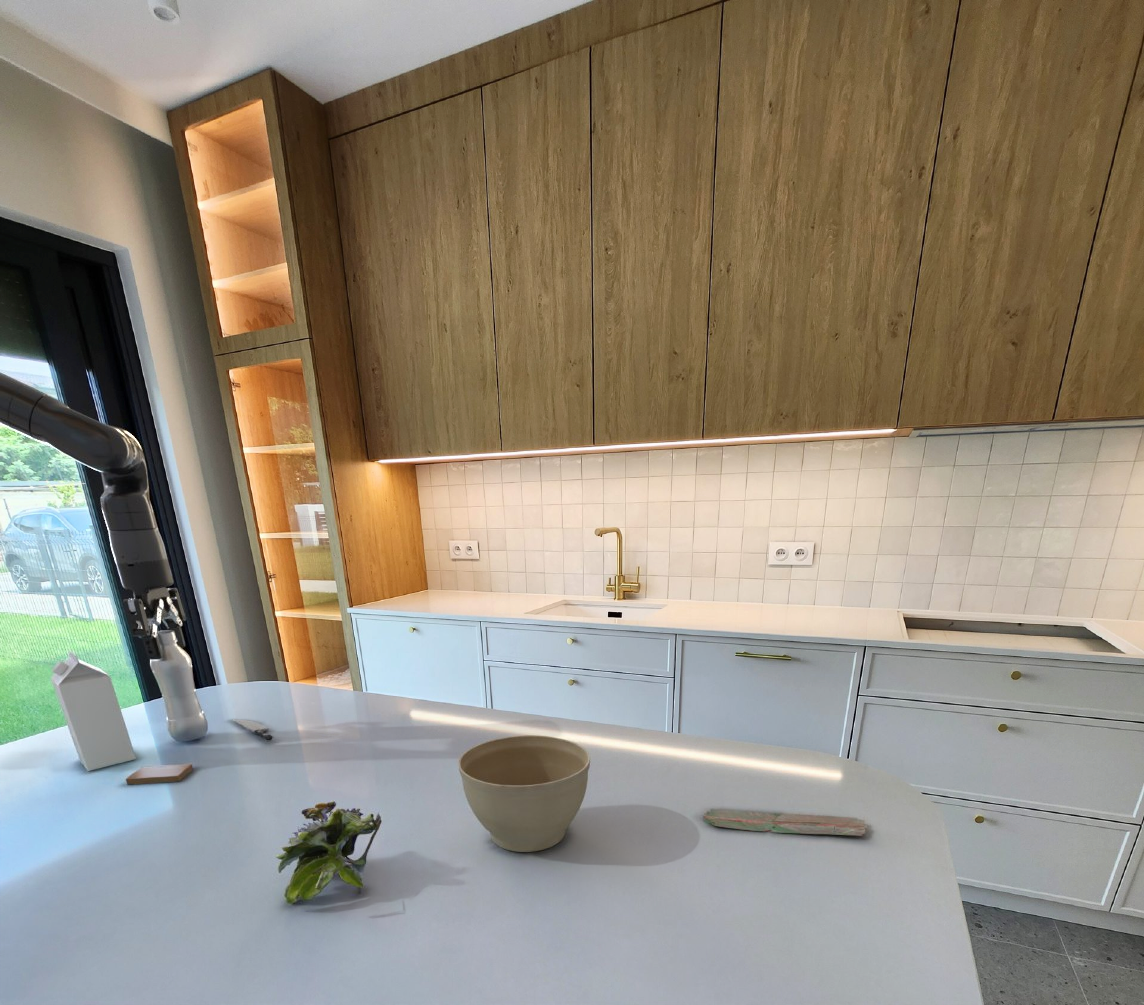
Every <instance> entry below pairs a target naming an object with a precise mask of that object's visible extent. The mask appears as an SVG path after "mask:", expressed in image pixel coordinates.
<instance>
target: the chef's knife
mask: <svg viewBox="0 0 1144 1005" xmlns="http://www.w3.org/2000/svg"><path fill="white" fill-rule="evenodd" d="M232 721H233V722H235V723H236V724H238V725H240V726H241V727H243V728H245V729H247V730H248V731H250V732H252V733H253V734H255V735H257V736H258V737H261V738H262V739H264V740H266V741H268V742H271V741H273V739H274V736H273V735H271V734H267V733H265V732H266V731H268V730H270V728H269V727H267V726H266V725H263V724H261V723H259V722H256V721H254V720H253V721H252V720H245V719H232Z"/></svg>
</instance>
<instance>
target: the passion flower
mask: <svg viewBox="0 0 1144 1005" xmlns="http://www.w3.org/2000/svg"><path fill="white" fill-rule="evenodd" d="M336 806H337V803H336V801H329V802H319V803H316V804H314V807H308V808H305V809H302V810H301V815H303V817H304V819H306V820H311V819H312V821H313V822H312V823H311V822H307V823H303V826H305V827H299V826H298V827H297V828H298V829H297V831H295V832H293V834H294V836H293V837H289V838H288V840H289V841H288V842H287V844H288V846H282V847H281V849H282V852H284V853H282V854H277V855H275V858H276V859H278V860H281V861H280V862H279V865H278V867H277V871H278V874H281V873H282V871H283V870H285V868H286V867H287V866H290V865H291V864H292V863H293V862H295V861H296V867H295V869H294V871H293V873H292V875H291V879H290V881H289V884H288V885H287V886H286V887H285V890H284V898H285V902H286V903H287V904H288V905H293V904H294V903H296V902H298V901H299V900H302V901H309V900H311V899H313V898H315V897H316V896H317V895H318V894H320V893H321V892H322V891H323V890H324V888H326V887H327V885H328V884H329V883H330V882H331V881H332V880H333V878H334V877H335V876H336V875H337V874H338V875H339V878H340V879H341V880H343V882H344V883H346V884H349V885H350V886H354V887H358V895H360V894H362V887H363V886H364V884H363V875H364V869H365V867H366V864H367V856H368V853H369V852H370V849H371V846H372V844H373V841H374V840H375V837H376V835H377V833H378V831H379V829H380V826H381V824H382V816H381V815H380V811H379V812H378V813H377V814H376V817H375V818H374V816H375V815H374V814H373V813H369V814H368V815H367V816H365V817H363V818H361V817H362V816H364V813H362V812H361V808H357V809H356V807H353V808H352V809H351V810H350V808H346V809H345V808H336ZM335 808H336V809H335ZM334 809H335V810H334ZM333 810H334V811H333ZM327 814H328V815H327ZM361 835H371V837H370V839H369V842H368V844H367V847H366V848H365V851H364V852H363V854H362V855H361V856H360V857H359V858H358V859H352V858H350V857H349V856H352V855H353V854H354V852H355V849H356V848H355V846H356V842H357V839H358V837H359V836H361Z"/></svg>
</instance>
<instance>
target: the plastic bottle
mask: <svg viewBox="0 0 1144 1005" xmlns="http://www.w3.org/2000/svg"><path fill="white" fill-rule="evenodd" d="M156 637H158V640H159V644H160V647H161V651H162V654H163V657H162V658H161V659H155V660H150V659H149V666H150V669H151V671H152V674H153V676H154V678H155V680H156V683H157V685H158V687H159V690H160V693H161V697H162V699H163V703H164V709H165V716H166V727H167V732H168V734H169V735H170V738H171V739H173V740H174V741H175V742H189V741H194V740H198V739H200V738H203V737H205V736H206V735H207V733H208V731H209V729H208V728H209V725H208V724H209V723H208V720H207V718H206V715H205V712H204V711H203V709H202V707H201V704H200V701H199V698H198V695H197V691H196V686H195V681H194V673H193V665H192V664H193V663H192V662H193V661H192V658H191V657H190V654H188V653H187V651H186V650H185V649H183V648H181V647H179V646H178V645H177V644H176V642H177V638H176V636H175V632H174V631H173V630H167V629H166V630H159V631H158V630H157V636H156Z"/></svg>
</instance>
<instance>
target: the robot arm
mask: <svg viewBox="0 0 1144 1005" xmlns="http://www.w3.org/2000/svg"><path fill="white" fill-rule="evenodd" d="M0 425H1V426H4V427H5V428H8V429H9V430H12V431H15V432H17V433H19V434H21V435H23V436H26V437H28V438H30V439H31V440H34V441H37V442H39V443H41V444H43V445H47V446H50V447H52V448H53V449H55V450H57V451H59V452H60V453H62V454H63V455H66V456H67V457H69V458H71V459H73V460H74V461H76V462H78V463H80V464H82V465H84V466H87V467H88V468H91V469H93V470H95V471H98V472H99V473H100V475H101V480H102V485H103V493H102V494H101V496H100V500H99V501H100V506H101V507H100V508H101V510H102V514H103V518H104V520H105V521H104V522H105V524H106V527H107V531H108V536H109V537H108V538H109V542H110V548H111V552H112V555H113V558H114V562H115V565H116V568H117V572H118V575H119V578H120V583H121V585H122V587H123V588H124V589H125V590H129V591H130V590H131V591H132V592H133V598H127V599H123V600H122V604H123V609H124V612H125V616H126V619H127V623H128V628H129V632H130V634H131V636H132V637H138V638H140V639H141V640H142V643H143V646H144V649H145V654H146V656H147V659H148V660H149V661H150V660H155V659H161V658H162V657H163V654H162V651H161V647H160V644H159V640H158V637H156V636H157V632H158V627H159V626H160V625H161V624H162V623H163V624H164V626H165V627H166V628H165V629H166V630H173V631H174V632H175V636H176V638H177V642H176V644H177V645H178V646H179V647H181V648H182V649H183V648H185V647H186V642H185V637H184V634H183V630H182V626H183V622H185V621H186V620H187V617H186V613H185V609H184V607H183V604H182V600H181V596H180V593H179V590H178V588H177V587H170V586H172V585H174V578H173V574H172V570H171V567H170V563H169V559H168V556H167V552H166V547H165V544H164V540H163V539H162V536H161V533H160V531H159V528H158V524H157V520H156V516H155V512H154V509H153V506H152V503H151V500H150V486H149V478H148V468H147V463H146V462H147V461H146V459H145V454H144V452H143V449H142V446H141V445H140V443H139V441H138V440H137V438H135V436H134V435H132V433H130V432H129V431H127V430H125V429H123V428H121V427H119V426H114V425H110V424H106V423H104V422H102V421H98V420H96V419H93V418H92V417H89V416H88V415H84V414H83V413H81V412H78V411H77V410H75V409H71V408H70V407H69V406H68V405H67V404H65V403H64V402H62V401H60V400H59V399H57V398H55V397H53V396H51V395H49V394H47V393H45V392H43V391H41V390H39V389H38V388H34V387H33V386H30V385H28V384H26V383H24V382H22V381H20V380H18V379H16V378H13V377H11V376H9V375H7V374H4V373H3V372H0ZM167 587H168V588H167ZM137 624H138V625H137ZM137 626H138V627H137Z"/></svg>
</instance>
